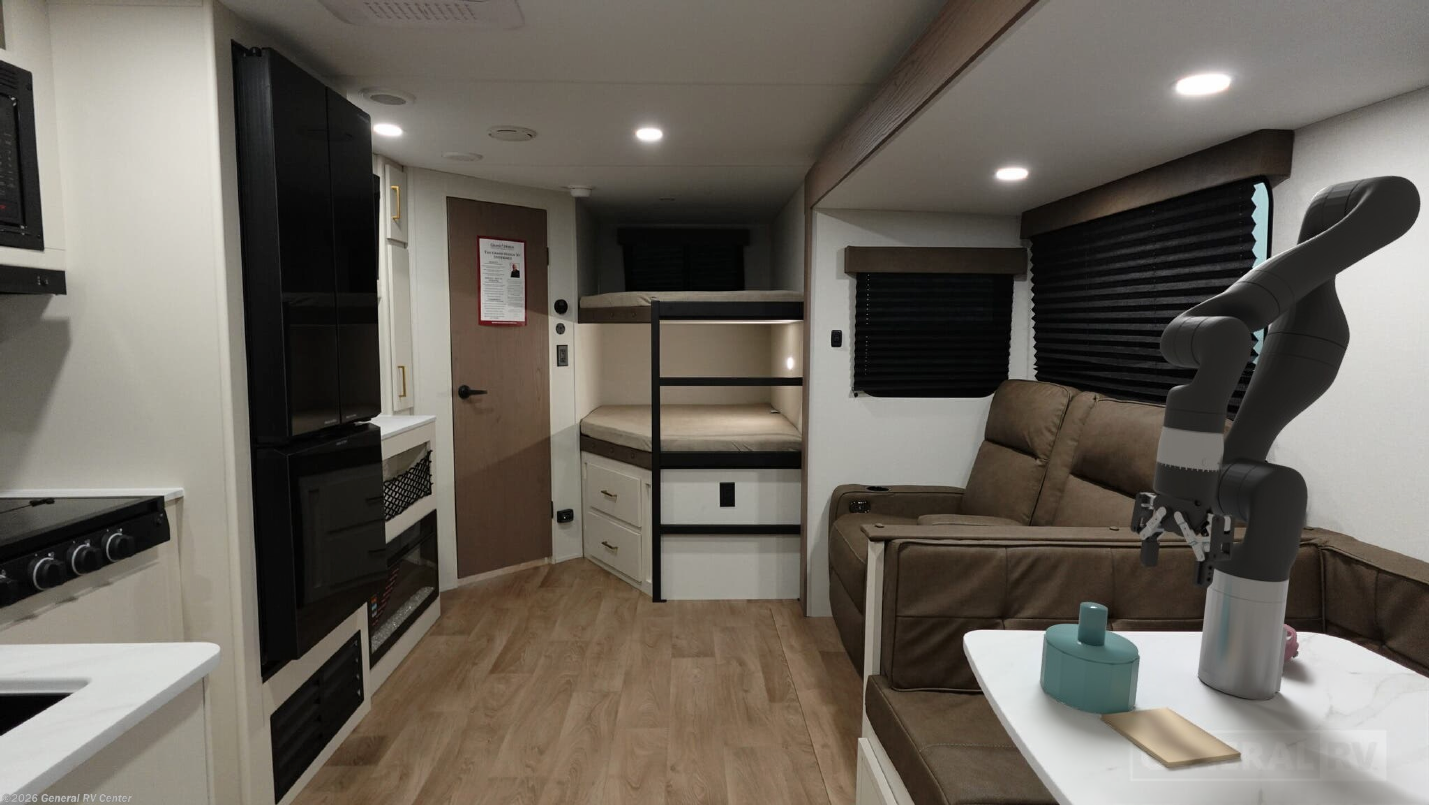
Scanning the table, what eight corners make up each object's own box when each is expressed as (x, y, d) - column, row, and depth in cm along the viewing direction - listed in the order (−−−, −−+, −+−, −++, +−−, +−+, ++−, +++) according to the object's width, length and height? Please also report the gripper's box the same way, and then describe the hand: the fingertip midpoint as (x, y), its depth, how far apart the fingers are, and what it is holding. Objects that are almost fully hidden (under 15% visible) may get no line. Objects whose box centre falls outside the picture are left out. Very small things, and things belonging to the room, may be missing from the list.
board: (1167, 711, 98) (1167, 707, 98) (1240, 757, 87) (1240, 753, 87) (1100, 719, 95) (1101, 714, 95) (1168, 767, 85) (1168, 762, 85)
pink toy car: (1279, 682, 111) (1310, 648, 108) (1247, 662, 112) (1277, 628, 110) (1271, 658, 119) (1299, 626, 117) (1242, 639, 121) (1269, 608, 119)
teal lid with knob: (1090, 669, 109) (1098, 589, 108) (1153, 710, 98) (1163, 621, 97) (1023, 676, 106) (1030, 593, 105) (1080, 718, 95) (1089, 626, 94)
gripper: (1259, 473, 93) (1242, 594, 95) (1167, 453, 107) (1153, 559, 109) (1213, 472, 91) (1196, 596, 93) (1125, 452, 105) (1111, 560, 107)
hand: (1173, 576), depth 101 cm, fingers open, 8 cm apart
